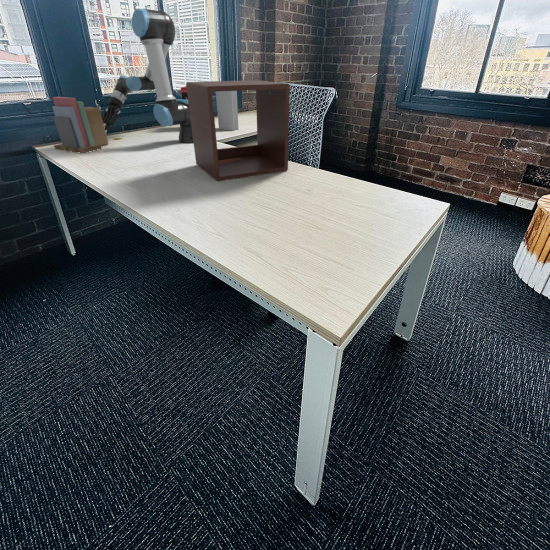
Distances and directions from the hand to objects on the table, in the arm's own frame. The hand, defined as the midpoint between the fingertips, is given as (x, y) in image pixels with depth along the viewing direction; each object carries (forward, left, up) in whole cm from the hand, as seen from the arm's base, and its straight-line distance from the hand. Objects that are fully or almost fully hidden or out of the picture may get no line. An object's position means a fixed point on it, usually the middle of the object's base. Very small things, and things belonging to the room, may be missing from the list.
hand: (102, 134), depth 201 cm
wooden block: (-2, +7, -5) cm, 9 cm away
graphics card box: (-19, -63, -5) cm, 66 cm away
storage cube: (-104, +12, -5) cm, 105 cm away
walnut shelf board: (0, +19, -5) cm, 20 cm away
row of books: (0, +18, -3) cm, 19 cm away
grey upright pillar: (-44, -72, -5) cm, 85 cm away
